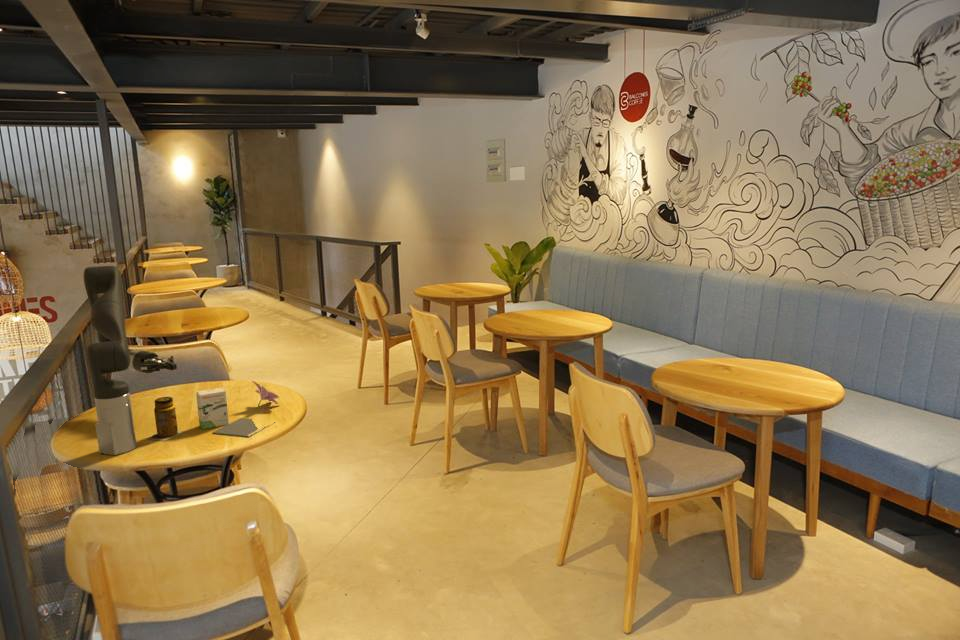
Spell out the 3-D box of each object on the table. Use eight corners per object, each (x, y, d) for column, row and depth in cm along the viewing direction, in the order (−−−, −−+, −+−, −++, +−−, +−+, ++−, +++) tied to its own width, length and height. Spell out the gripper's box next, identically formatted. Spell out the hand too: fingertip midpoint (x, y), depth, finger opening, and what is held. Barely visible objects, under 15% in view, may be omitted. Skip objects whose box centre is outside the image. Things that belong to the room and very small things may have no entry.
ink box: (202, 430, 214) (198, 395, 211) (199, 425, 218) (195, 391, 216) (229, 424, 218) (226, 390, 216) (226, 420, 222) (222, 386, 220)
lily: (280, 414, 230) (287, 387, 232) (246, 406, 225) (254, 379, 228) (274, 415, 240) (281, 390, 243) (241, 407, 236) (249, 381, 238)
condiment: (184, 431, 213) (180, 396, 210) (165, 441, 205) (160, 404, 202) (165, 430, 215) (161, 394, 212) (146, 439, 207) (141, 403, 204)
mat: (249, 437, 206) (249, 435, 206) (212, 433, 210) (212, 432, 210) (276, 422, 219) (275, 420, 219) (240, 418, 223) (240, 417, 223)
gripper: (122, 355, 224) (155, 361, 216) (157, 346, 235) (190, 351, 227) (125, 376, 226) (158, 382, 218) (159, 366, 237) (192, 372, 229)
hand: (174, 366), depth 222 cm, fingers closed
